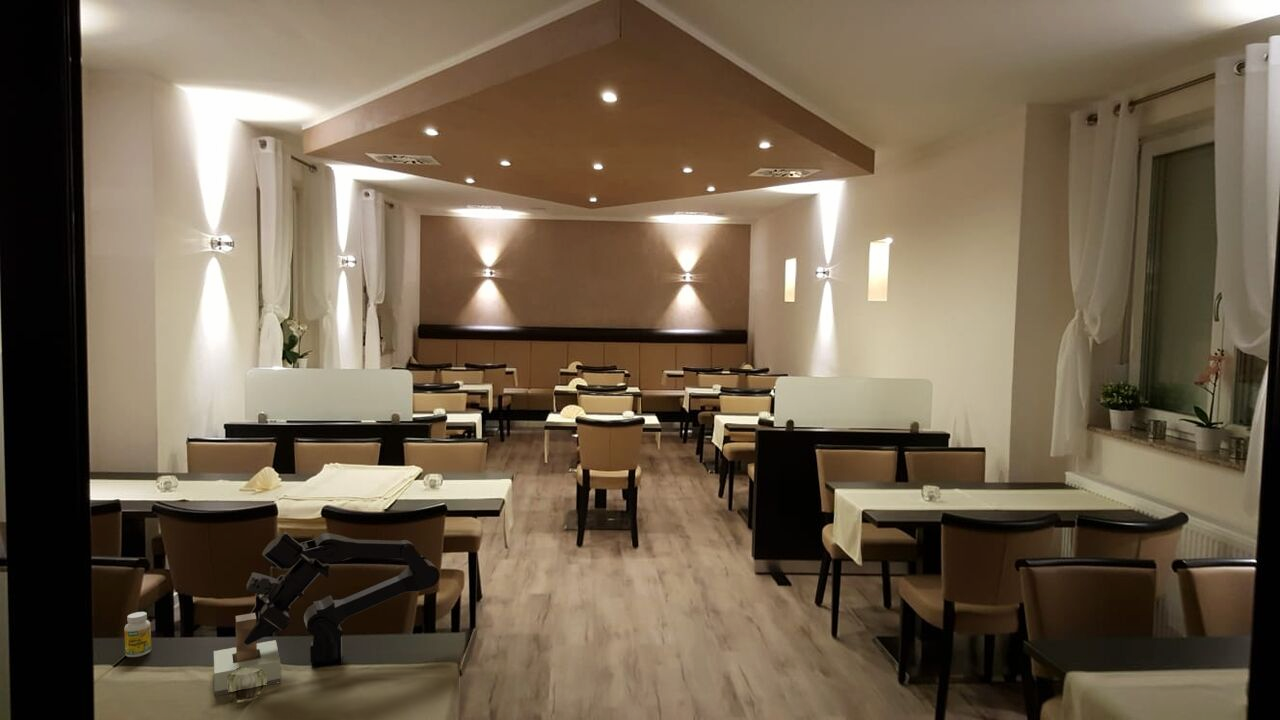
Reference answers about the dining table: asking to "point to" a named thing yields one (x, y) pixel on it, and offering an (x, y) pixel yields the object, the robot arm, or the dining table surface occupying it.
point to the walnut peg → (242, 631)
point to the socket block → (246, 665)
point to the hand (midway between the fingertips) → (244, 636)
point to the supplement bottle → (137, 635)
